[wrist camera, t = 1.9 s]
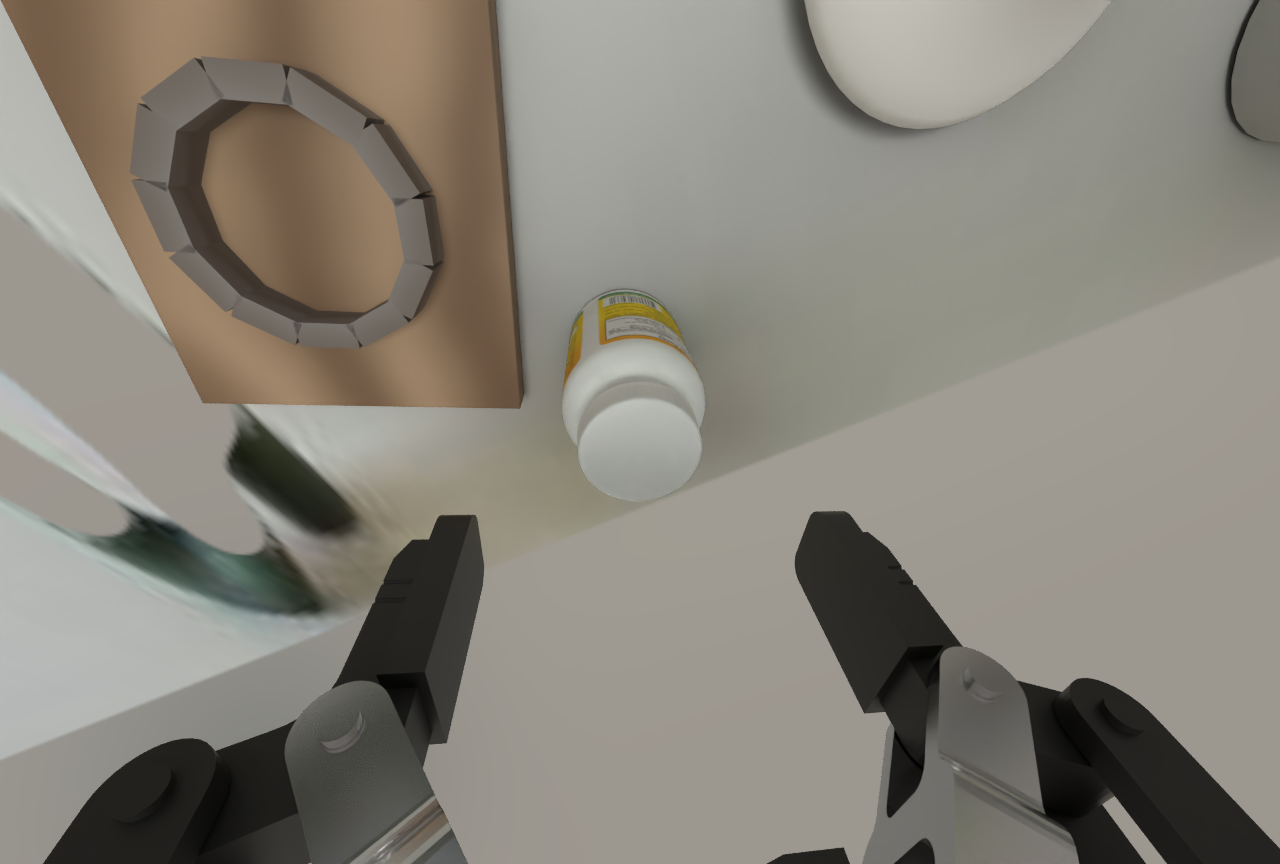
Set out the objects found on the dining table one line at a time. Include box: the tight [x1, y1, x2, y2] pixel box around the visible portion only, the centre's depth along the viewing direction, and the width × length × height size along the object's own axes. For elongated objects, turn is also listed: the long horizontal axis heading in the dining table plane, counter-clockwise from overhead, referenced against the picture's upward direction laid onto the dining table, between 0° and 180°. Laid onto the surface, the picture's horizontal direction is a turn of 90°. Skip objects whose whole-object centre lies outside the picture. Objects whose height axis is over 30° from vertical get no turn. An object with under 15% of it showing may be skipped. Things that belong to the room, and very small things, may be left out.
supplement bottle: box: [562, 290, 705, 501], centre depth 18 cm, size 5×5×10 cm
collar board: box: [1, 0, 524, 409], centre depth 17 cm, size 14×16×3 cm
